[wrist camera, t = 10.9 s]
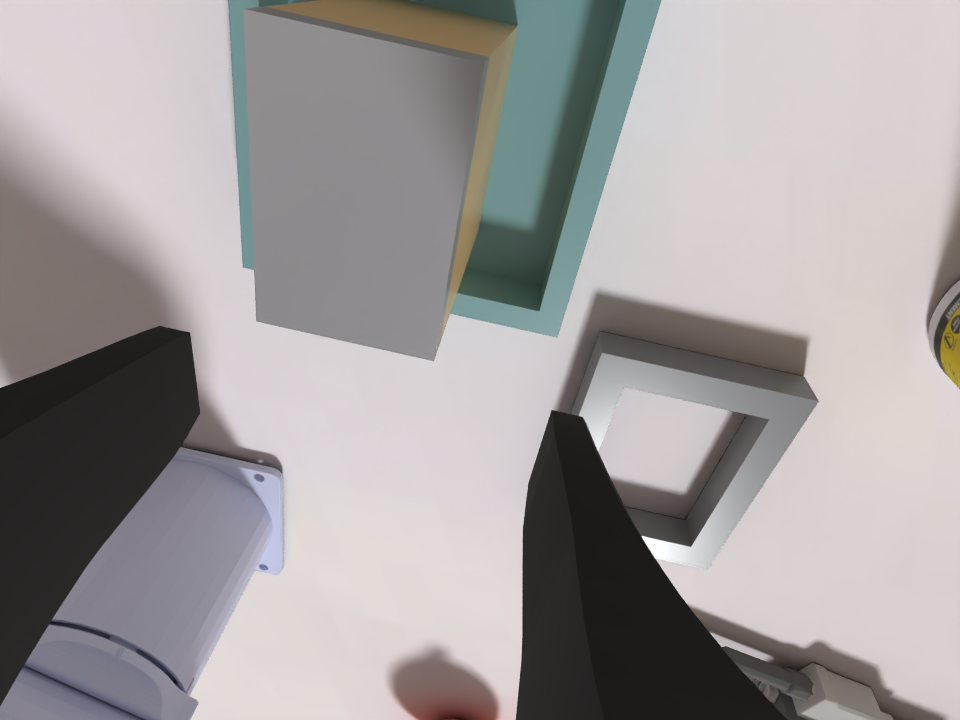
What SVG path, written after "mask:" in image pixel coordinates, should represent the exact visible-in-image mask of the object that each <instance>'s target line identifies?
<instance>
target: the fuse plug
mask: <svg viewBox="0 0 960 720" xmlns="http://www.w3.org/2000/svg"><path fill="white" fill-rule="evenodd" d="M243 12H244V36H245V60H246V84H247V108H248V132H249V156H250V180H251V204H252V228H253V252H254V276H255V300H256V321H257V322H262V323H266V324H270V325H275V326H279V327H284V328H288V329H293V330H297V331H302V332H306V333H311V334H315V335H320V336H324V337H329V338H333V339H337V340H342V341H346V342H351V343H355V344H360V345H364V346H369V347H373V348H378V349H382V350H387V351H391V352H396V353H400V354H404V355H409V356H413V357H418V358H422V359H427V360H431V361H434V359H435V356H436V353H437V350H438V347H439V344H440V341H441V339H442V336H443V333H444V330H445V327H446V324H447V321H448V318H449V315H450V312H451V309H452V306H453V303H454V300H455V297H456V294H457V292H458V289H459V286H460V283H461V280H462V277H463V274H464V271H465V268H466V265H467V262H468V259H469V256H470V253H471V250H472V247H473V244H474V242H475V239H476V236H477V233H478V230H479V225H480V220H481V215H482V210H483V205H484V199H485V194H486V189H487V184H488V179H489V174H490V168H491V163H492V158H493V153H494V148H495V142H496V137H497V132H498V127H499V122H500V116H501V111H502V106H503V101H504V96H505V91H506V85H507V80H508V75H509V70H510V65H511V59H512V54H513V49H514V44H515V39H516V34H517V28H518V25H513V24H509V23H504V22H500V21H495V20H491V19H486V18H482V17H477V16H473V15H469V14H464V13H460V12H455V11H451V10H446V9H442V8H437V7H433V6H428V5H424V4H420V3H415V2H411V1H406V0H317V1H309V2H300V3H291V4H282V5H274V6H265V7H256V8H247V9H243Z"/></svg>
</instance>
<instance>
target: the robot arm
mask: <svg viewBox="0 0 960 720" xmlns="http://www.w3.org/2000/svg"><path fill="white" fill-rule="evenodd" d="M199 414H200V407H199V400H198V392H197V384H196V376H195V368H194V360H193V352H192V344H191V336H190V333H189V332H185V331H180V330H175V329H171V328H166V327H161V326H159V327H156V328H153V329H150V330H147V331H144V332H141V333H139V334H136V335H133V336H131V337H128V338H126V339H123V340H121V341H118V342H116V343H114V344H111V345H109V346H106V347H104V348H101V349H99V350H97V351H94V352H92V353H89V354H87V355H84V356H82V357H80V358H77V359H75V360H72V361H70V362H67V363H65V364H62V365H60V366H57V367H55V368H53V369H50V370H48V371H45V372H43V373H40V374H37V375H35V376H32V377H29V378H26V379H24V380H21V381H18V382H16V383H13V384H10V385H8V386H5V387H2V388H0V720H190V719H191V717H192V715H193V713H194V711H195V709H196V707H197V705H198V701H197V700H196V699H194V698H192V697H190V694H191V692H192V690H193V688H194V686H195V684H196V683H197V681H198V679H199V677H200V675H201V673H202V671H203V669H204V667H205V665H206V663H207V661H208V660H209V658H210V656H211V654H212V652H213V650H214V648H215V646H216V644H217V642H218V640H219V638H220V636H221V635H222V633H223V631H224V629H225V627H226V625H227V623H228V621H229V619H230V617H231V615H232V613H233V611H234V610H235V608H236V606H237V604H238V602H239V600H240V598H241V596H242V594H243V592H244V590H245V588H246V586H247V585H248V583H249V581H250V579H251V577H252V575H253V573H254V571H260V572H264V573H268V574H273V575H277V574H280V573H281V572H282V570H283V568H284V519H283V476H282V474H281V472H280V471H279V470H277V469H275V468H272V467H268V466H263V465H259V464H254V463H250V462H245V461H241V460H236V459H232V458H227V457H223V456H218V455H214V454H210V453H205V452H201V451H196V450H192V449H187V448H183V447H181V445H182V443H183V442H184V440H185V438H186V437H187V435H188V433H189V432H190V430H191V428H192V426H193V425H194V423H195V421H196V419H197V418H198V416H199ZM516 720H788V719H787V718H786V717H785V716H784V715H783V714H782V713H781V712H780V711H779V710H778V709H777V708H776V707H775V706H774V705H773V704H772V703H771V702H770V701H769V700H768V699H767V698H766V697H765V695H764V694H763V693H762V692H761V691H760V690H759V689H758V688H757V687H756V686H755V685H754V684H753V682H752V681H751V680H750V679H749V678H748V677H747V676H746V675H745V674H744V673H743V672H742V671H741V669H740V668H739V667H738V666H737V665H736V664H735V663H734V661H733V660H732V659H731V658H730V657H729V656H728V654H727V653H726V652H725V651H724V650H723V648H722V647H721V646H720V645H719V644H718V642H717V641H716V640H715V639H714V637H713V636H712V635H711V634H710V633H709V631H708V630H707V629H706V628H705V626H704V625H703V624H702V623H701V622H700V620H699V619H698V618H697V617H696V615H695V614H694V613H693V612H692V610H691V609H690V608H689V606H688V605H687V604H686V602H685V601H684V600H683V598H682V597H681V596H680V594H679V593H678V592H677V590H676V589H675V587H674V586H673V584H672V583H671V581H670V580H669V579H668V577H667V576H666V574H665V573H664V571H663V570H662V568H661V567H660V565H659V564H658V562H657V561H656V559H655V558H654V556H653V554H652V553H651V551H650V550H649V548H648V546H647V545H646V543H645V541H644V540H643V538H642V536H641V535H640V533H639V531H638V529H637V528H636V526H635V524H634V523H633V521H632V519H631V517H630V515H629V513H628V512H627V510H626V508H625V506H624V504H623V502H622V500H621V498H620V496H619V494H618V492H617V490H616V488H615V487H614V485H613V483H612V481H611V479H610V476H609V474H608V472H607V470H606V468H605V466H604V464H603V461H602V459H601V457H600V455H599V453H598V450H597V448H596V446H595V443H594V441H593V438H592V436H591V433H590V431H589V429H588V426H587V423H586V422H585V420H584V418H583V417H581V416H577V415H572V414H567V413H563V412H558V411H553V410H552V411H551V414H550V417H549V420H548V423H547V427H546V430H545V433H544V436H543V439H542V442H541V446H540V449H539V452H538V455H537V458H536V461H535V465H534V468H533V471H532V474H531V477H530V480H529V484H528V492H527V500H526V508H525V516H524V525H523V638H522V661H521V672H520V682H519V693H518V703H517V713H516Z"/></svg>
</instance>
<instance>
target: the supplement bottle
mask: <svg viewBox="0 0 960 720" xmlns="http://www.w3.org/2000/svg"><path fill="white" fill-rule="evenodd" d="M928 339H929V346H930V349H931V352H932V354H933V357H934V358H935V360H936V362H937V363H938V364H939V366H940V367H941V369H942V370H943V371H944V372H945V374H946V375H947V376H948V377H949V378H950V379H951V380H952V381H953V382H954V383H955V385H956V386H957V387H958V388H959V389H960V280H959V281H958V282H957V283H955V284H954V285H953V286H952V287H951V288H950V290H949V291H948V292H947V293H946V294H945V296H944V297H943V298H942V299H941V301H940V303H939V304H938V306H937V307H936V309H935V311H934V313H933V316H932V318H931V321H930V325H929V331H928Z"/></svg>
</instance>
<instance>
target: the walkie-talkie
mask: <svg viewBox="0 0 960 720" xmlns="http://www.w3.org/2000/svg"><path fill="white" fill-rule="evenodd" d="M722 648H723V650H724V651H725V652H726V653H727V654H728V656H729V657H730V658H731V659H732V660H733V661H734V663H735V664H736V665H737V666H738V667H739V668H740V669H741V671H742V672H743V673H744V674H745V675H746V676H748V677H750V678H753V679H756V680H758V681H761V683H760V686H759V690H760V691H761V692H762V693H763V694H764V695H765V697H766V698H767V699H768V700H769V701H770V702H771V703H772V704H773V705H774V706H775V707H776V708H777V709H778V710H779V711H780V712H781V713H782V714H783V715H784V716H785V717H786V718H787V719H788V720H893V718H892V716H891V715H889V714H886V713H884V712H881V711H880V709H879V706H878V704H877V702H876V699H875V697H874V694H873V692H872V690H871V688H869V687H867V686H864V685H862V684H860V683H857V682H855V681H852V680H850V679H847V678H845V677H842V676H840V675H837V674H835V673H832V672H830V671H827V670H826V669H825V667H822V666H820V665H817V664H815V663H811V664H809V665H807V666H806V667H804V668H803V669H801V670H799V671H796V670H793V669H791V668H788V667H787V668H781V667H778V666H776V665H773V664H770V663H768V662H765V661H763V660H760V659H758V658H755V657H752V656H750V655H747V654H745V653H742V652H739V651H737V650H734V649H732V648H729V647H726V646H725V647H722Z"/></svg>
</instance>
